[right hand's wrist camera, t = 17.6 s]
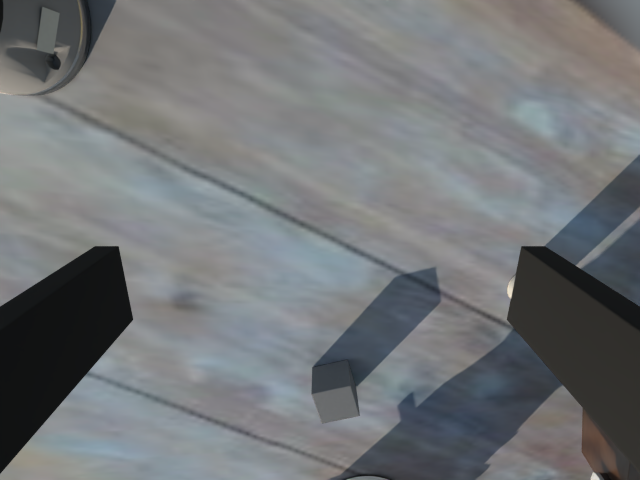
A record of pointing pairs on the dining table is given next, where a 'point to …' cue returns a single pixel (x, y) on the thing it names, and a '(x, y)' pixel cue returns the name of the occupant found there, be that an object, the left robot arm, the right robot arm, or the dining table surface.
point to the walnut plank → (604, 452)
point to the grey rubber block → (334, 391)
